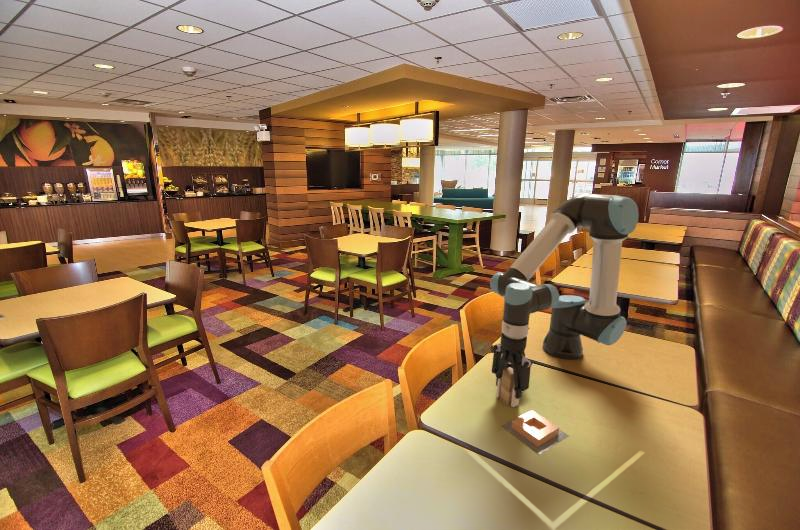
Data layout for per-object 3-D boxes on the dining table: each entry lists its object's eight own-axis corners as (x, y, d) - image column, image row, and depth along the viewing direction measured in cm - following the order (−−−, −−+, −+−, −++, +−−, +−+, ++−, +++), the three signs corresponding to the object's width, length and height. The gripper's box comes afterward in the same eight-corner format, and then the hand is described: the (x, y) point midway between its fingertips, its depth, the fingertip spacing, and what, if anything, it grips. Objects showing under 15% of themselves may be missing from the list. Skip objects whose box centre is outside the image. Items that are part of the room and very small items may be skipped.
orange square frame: (531, 416, 113) (532, 410, 112) (558, 434, 105) (559, 427, 105) (511, 427, 108) (512, 420, 107) (537, 446, 101) (538, 440, 100)
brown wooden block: (506, 399, 122) (509, 366, 119) (514, 404, 119) (517, 371, 116) (499, 403, 120) (502, 369, 117) (507, 408, 118) (510, 374, 114)
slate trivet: (530, 413, 115) (530, 410, 115) (568, 438, 105) (569, 435, 105) (501, 428, 109) (501, 426, 108) (539, 457, 98) (539, 454, 98)
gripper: (483, 325, 118) (478, 389, 125) (531, 349, 104) (522, 421, 110) (499, 320, 122) (493, 382, 129) (548, 343, 108) (539, 412, 114)
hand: (507, 400), depth 119 cm, fingers open, 5 cm apart
